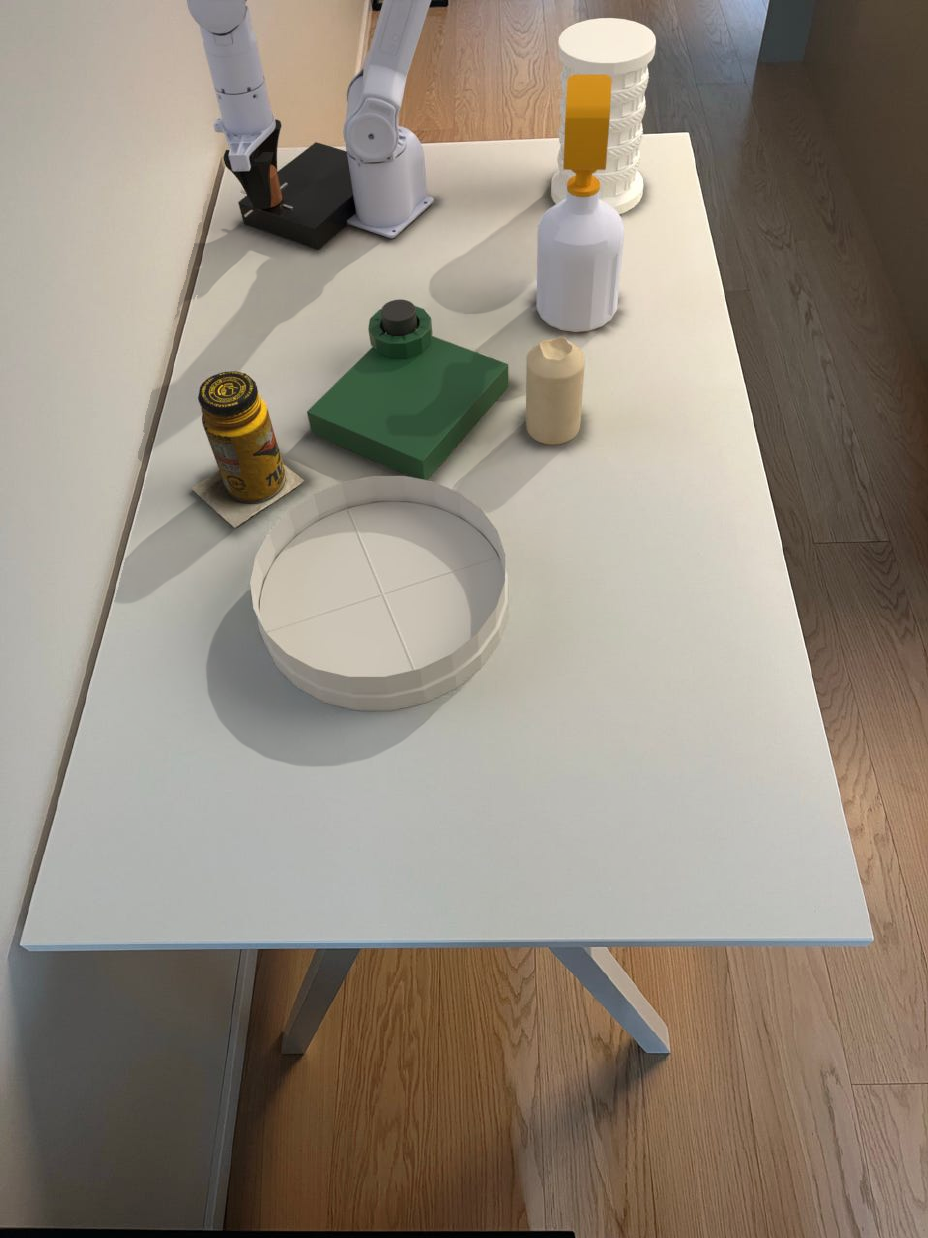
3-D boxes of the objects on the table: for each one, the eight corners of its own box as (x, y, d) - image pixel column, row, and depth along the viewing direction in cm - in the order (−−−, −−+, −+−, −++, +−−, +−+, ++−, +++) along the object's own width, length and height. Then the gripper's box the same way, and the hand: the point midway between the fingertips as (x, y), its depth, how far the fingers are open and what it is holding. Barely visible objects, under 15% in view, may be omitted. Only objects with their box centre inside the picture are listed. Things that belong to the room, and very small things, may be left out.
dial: (253, 190, 119) (246, 160, 116) (284, 190, 119) (278, 160, 116) (247, 209, 117) (240, 178, 114) (279, 208, 117) (273, 178, 113)
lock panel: (313, 161, 128) (309, 138, 126) (392, 186, 124) (389, 162, 121) (226, 230, 120) (219, 206, 117) (307, 259, 115) (303, 235, 113)
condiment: (304, 481, 94) (279, 387, 84) (235, 529, 91) (200, 436, 81) (260, 445, 97) (231, 350, 87) (192, 490, 94) (153, 396, 84)
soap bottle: (616, 284, 110) (638, 58, 90) (616, 335, 104) (638, 107, 84) (538, 282, 110) (542, 59, 90) (534, 333, 105) (537, 107, 85)
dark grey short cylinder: (395, 311, 101) (393, 295, 100) (423, 321, 100) (422, 305, 98) (376, 330, 100) (373, 314, 98) (404, 341, 98) (402, 324, 97)
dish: (236, 552, 89) (222, 516, 85) (457, 483, 93) (454, 446, 88) (296, 748, 76) (284, 718, 72) (549, 660, 80) (550, 626, 76)
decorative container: (634, 163, 124) (649, 12, 109) (649, 213, 117) (668, 59, 103) (545, 170, 124) (549, 20, 109) (556, 221, 117) (561, 68, 103)
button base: (396, 335, 106) (392, 297, 102) (514, 379, 101) (514, 341, 97) (302, 429, 98) (292, 392, 94) (425, 483, 93) (420, 445, 89)
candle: (516, 435, 96) (516, 355, 88) (539, 401, 99) (541, 321, 91) (566, 452, 94) (571, 372, 86) (588, 417, 97) (595, 336, 89)
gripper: (216, 52, 111) (244, 165, 122) (190, 115, 103) (222, 230, 114) (276, 50, 110) (298, 163, 122) (254, 114, 102) (280, 229, 113)
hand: (265, 196), depth 118 cm, fingers closed on dial, 4 cm apart
